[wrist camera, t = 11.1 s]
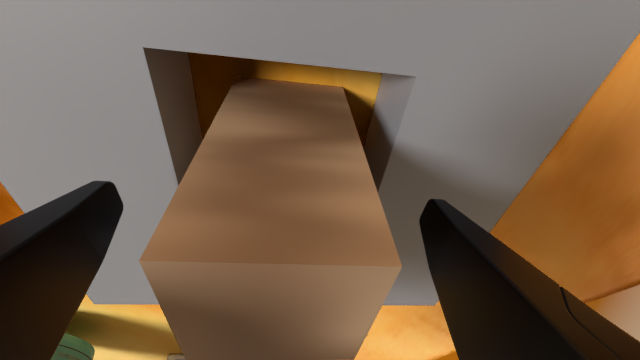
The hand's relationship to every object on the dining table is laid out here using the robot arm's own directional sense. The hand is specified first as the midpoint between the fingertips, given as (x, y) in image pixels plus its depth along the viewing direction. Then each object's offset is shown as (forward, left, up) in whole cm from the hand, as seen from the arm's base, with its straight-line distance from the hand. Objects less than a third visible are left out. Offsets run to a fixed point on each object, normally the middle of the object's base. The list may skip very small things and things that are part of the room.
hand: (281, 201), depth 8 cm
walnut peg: (0, 0, -4) cm, 5 cm away
